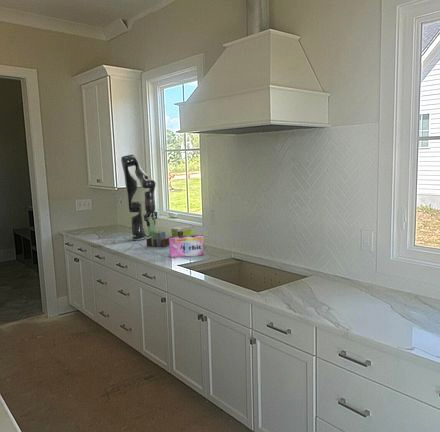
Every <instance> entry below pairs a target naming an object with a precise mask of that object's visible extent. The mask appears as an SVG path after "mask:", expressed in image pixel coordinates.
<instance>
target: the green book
mask: <svg viewBox="0 0 440 432" xmlns="http://www.w3.org/2000/svg"><path fill="white" fill-rule="evenodd" d="M149 222H150V226H147V231H148V236H149V237H151V231H154V230H156V227H155V226H156V223H155V224H154V220H152V219H150V221H149Z"/></svg>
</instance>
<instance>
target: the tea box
mask: <svg viewBox="0 0 440 432" xmlns="http://www.w3.org/2000/svg"><path fill="white" fill-rule="evenodd" d="M170 231H171V237H176V236H192V235H195V227H194V226H190V225H183V226H177V227H172V228H171V229H170Z"/></svg>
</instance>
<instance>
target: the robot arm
mask: <svg viewBox="0 0 440 432" xmlns="http://www.w3.org/2000/svg"><path fill="white" fill-rule="evenodd" d="M120 162H121V167H122V170H123V175H124V183H125V189H126V195H127V205H128V206H127V207H128V211H129V212H130V213H137V214H135V215H134V216H131V217H130V219H131V220H130V221H131V233H132V236H131V237H132V241H143V240H145V239H146V238H150V236H149V235H147V234H146V232H145V228H144V222H146V226H147V227H148V226H150V222H149V221H150V220H154V224H155V225H156V220H158V211H156V201H155V190H156V185H157V184H156V180H155V179H153V178H149V176H148V174H147V173H146V172H145V171H144V169H143V168H142V166H141V164H140V162H139V160H138V158H137V157H136V155H134V154H127V155H123V156H121V158H120ZM130 167H135V170H134V174H135V176H136V177H135V176H134V175H133V174H132V173H131V172H130V170H129V168H130ZM136 178H137V179H138V180H139V182H140V186H141V187H142V188H143V189H148V190H147V191H144V194H143V195H144V211H145V213H143V203H142V201H133V198H134V196H135V194H136V193H137V191H138V189H139V188H138V186H139V185H138V181H137V179H136Z"/></svg>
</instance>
